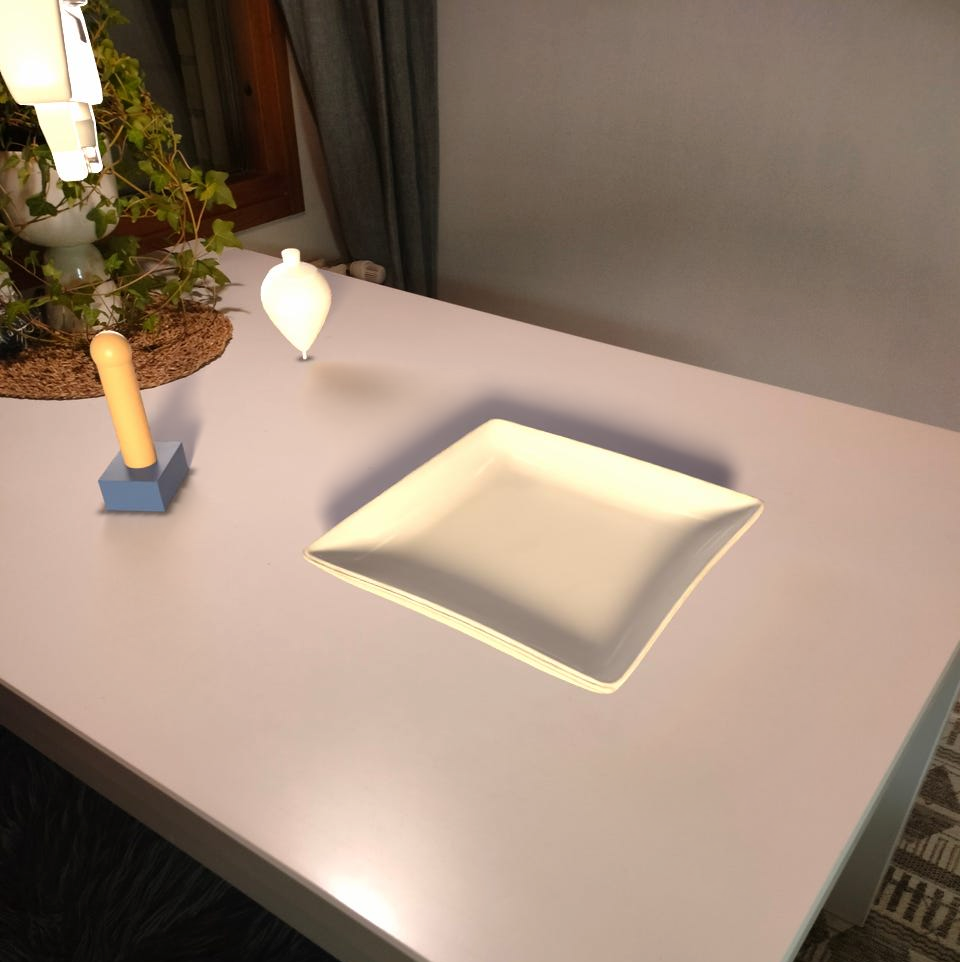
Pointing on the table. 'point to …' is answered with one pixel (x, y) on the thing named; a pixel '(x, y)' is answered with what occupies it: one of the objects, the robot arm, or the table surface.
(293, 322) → the spinning top
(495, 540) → the square plate
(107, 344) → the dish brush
